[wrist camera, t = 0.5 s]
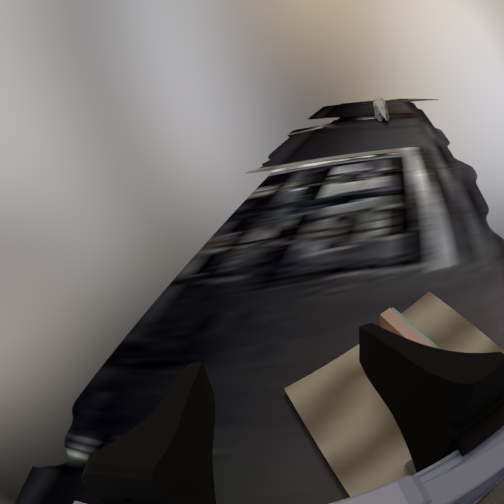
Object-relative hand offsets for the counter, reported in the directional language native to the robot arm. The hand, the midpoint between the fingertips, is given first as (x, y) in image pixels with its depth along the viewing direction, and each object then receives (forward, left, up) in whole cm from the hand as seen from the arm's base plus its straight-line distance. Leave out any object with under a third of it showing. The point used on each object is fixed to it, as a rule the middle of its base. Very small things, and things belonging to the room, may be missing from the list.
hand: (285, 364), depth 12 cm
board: (-3, -11, -18) cm, 21 cm away
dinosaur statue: (+90, -95, -18) cm, 132 cm away
